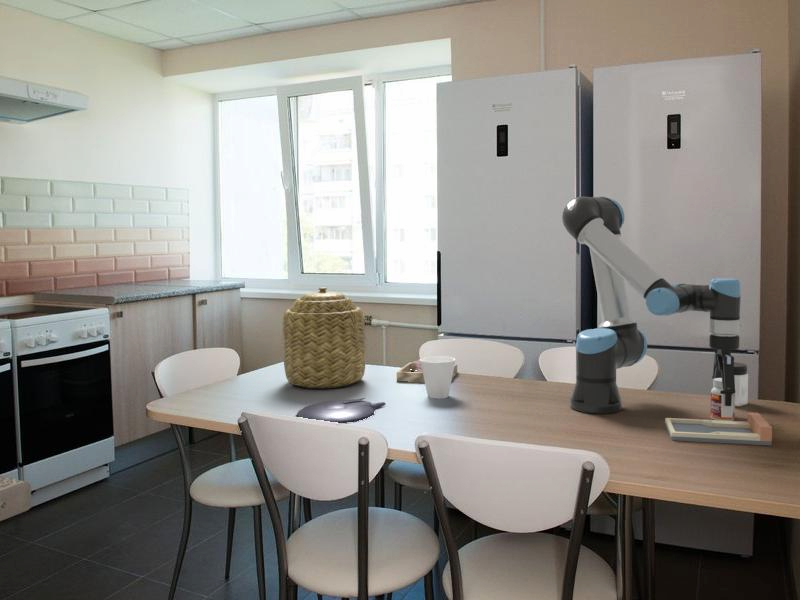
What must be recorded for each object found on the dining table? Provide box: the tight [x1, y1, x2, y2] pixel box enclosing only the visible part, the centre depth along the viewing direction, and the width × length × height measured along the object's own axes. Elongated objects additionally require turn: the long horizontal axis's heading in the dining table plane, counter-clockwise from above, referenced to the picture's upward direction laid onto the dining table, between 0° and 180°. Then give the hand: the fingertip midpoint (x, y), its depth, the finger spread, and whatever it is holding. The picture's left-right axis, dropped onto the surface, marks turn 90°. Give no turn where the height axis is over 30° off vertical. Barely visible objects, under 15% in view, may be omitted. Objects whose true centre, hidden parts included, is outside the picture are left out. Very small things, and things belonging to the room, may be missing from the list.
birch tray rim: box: [396, 361, 458, 384], centre depth 257 cm, size 19×19×4 cm
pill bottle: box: [710, 378, 736, 421], centre depth 192 cm, size 6×6×11 cm
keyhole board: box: [664, 412, 773, 446], centre depth 178 cm, size 23×14×4 cm, turn 75°
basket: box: [282, 286, 367, 389], centre depth 250 cm, size 30×30×35 cm
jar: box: [734, 361, 749, 407], centre depth 209 cm, size 9×8×12 cm
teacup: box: [413, 359, 422, 372], centre depth 257 cm, size 12×12×6 cm
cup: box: [419, 355, 456, 400], centre depth 226 cm, size 12×12×12 cm
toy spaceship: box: [295, 397, 386, 424], centre depth 209 cm, size 28×24×3 cm
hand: (722, 411), depth 192 cm, fingers open, 11 cm apart
